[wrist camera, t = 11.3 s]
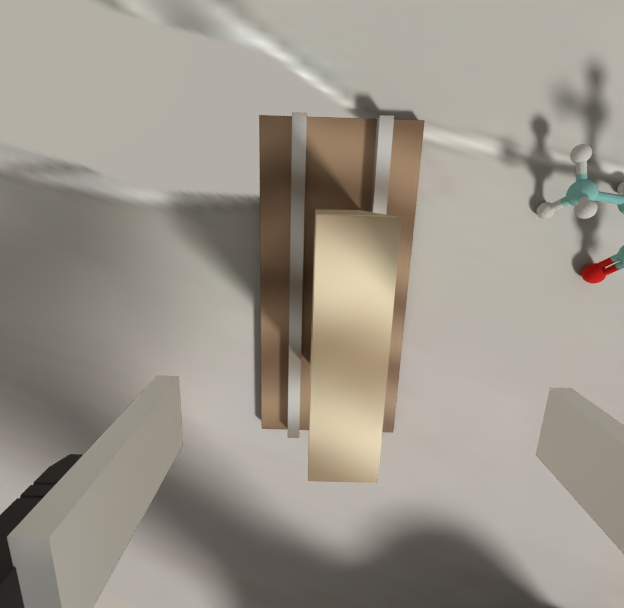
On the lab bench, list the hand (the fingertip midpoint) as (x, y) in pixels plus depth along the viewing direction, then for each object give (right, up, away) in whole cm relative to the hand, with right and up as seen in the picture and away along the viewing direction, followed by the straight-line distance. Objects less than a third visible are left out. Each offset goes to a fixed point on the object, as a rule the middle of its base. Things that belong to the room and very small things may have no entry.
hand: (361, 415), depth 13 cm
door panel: (0, +5, +17) cm, 18 cm away
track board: (0, +5, +18) cm, 19 cm away
